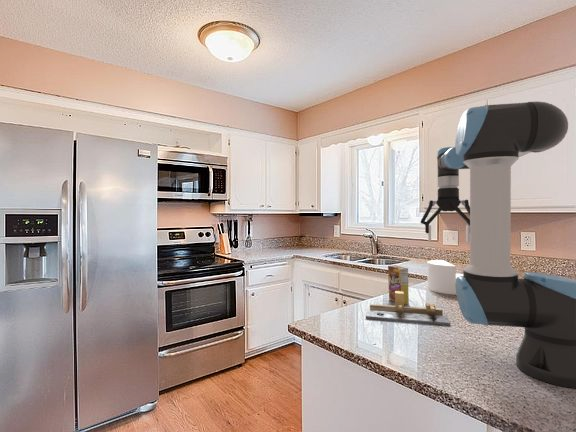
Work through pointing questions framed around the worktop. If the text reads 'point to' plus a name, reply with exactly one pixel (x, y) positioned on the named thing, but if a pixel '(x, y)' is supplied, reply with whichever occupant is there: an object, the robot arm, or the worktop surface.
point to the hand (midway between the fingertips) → (448, 242)
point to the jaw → (399, 301)
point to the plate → (408, 317)
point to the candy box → (398, 282)
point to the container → (441, 277)
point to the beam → (409, 309)
